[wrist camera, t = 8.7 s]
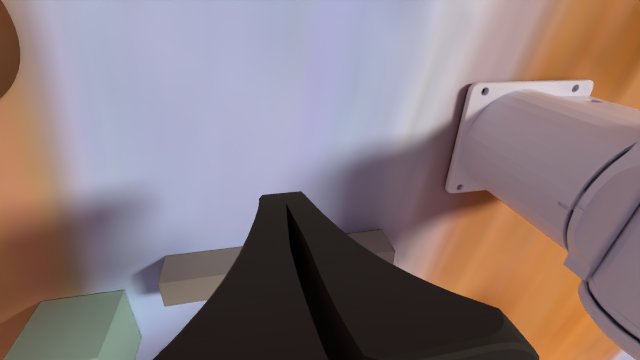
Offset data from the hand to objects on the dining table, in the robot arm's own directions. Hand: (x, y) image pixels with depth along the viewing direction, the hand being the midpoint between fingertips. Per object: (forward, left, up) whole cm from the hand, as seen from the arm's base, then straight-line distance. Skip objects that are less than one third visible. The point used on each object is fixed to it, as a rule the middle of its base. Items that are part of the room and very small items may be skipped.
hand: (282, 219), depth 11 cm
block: (+13, +14, -10) cm, 21 cm away
